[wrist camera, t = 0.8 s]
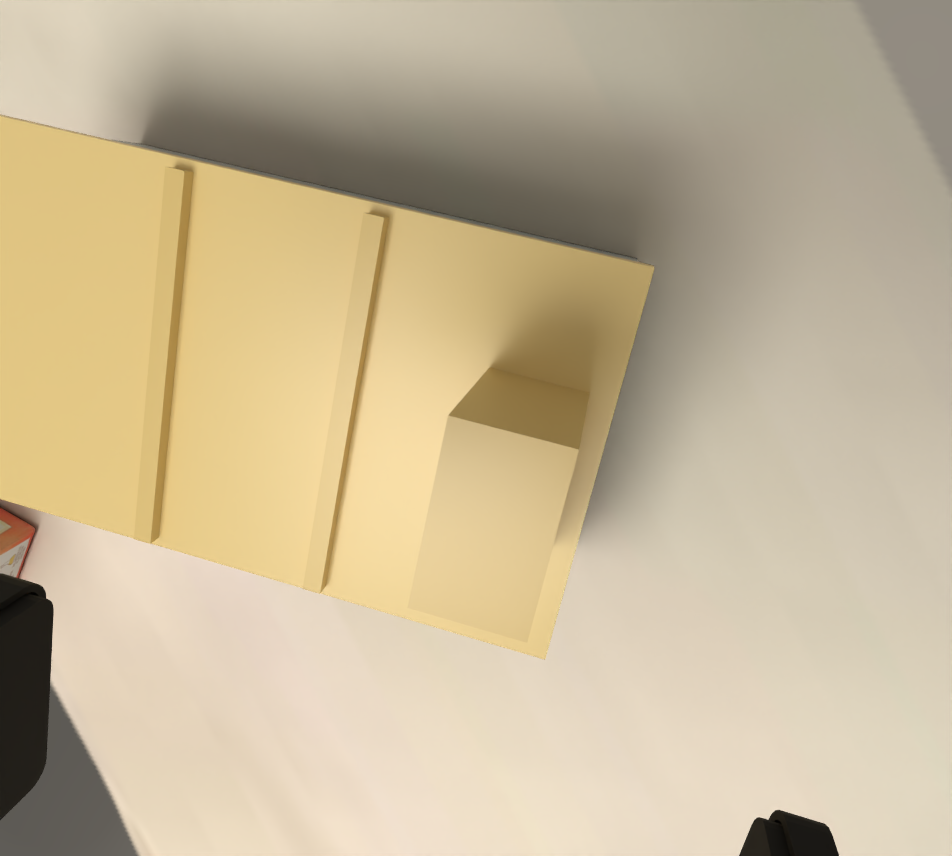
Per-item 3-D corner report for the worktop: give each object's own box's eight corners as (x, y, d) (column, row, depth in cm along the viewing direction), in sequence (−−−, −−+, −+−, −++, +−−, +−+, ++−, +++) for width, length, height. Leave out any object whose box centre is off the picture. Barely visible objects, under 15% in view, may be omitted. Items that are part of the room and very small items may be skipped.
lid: (653, 265, 22) (664, 287, 16) (547, 646, 26) (523, 779, 20) (-3, 113, 24) (-209, 82, 18) (-10, 483, 28) (-183, 557, 22)
